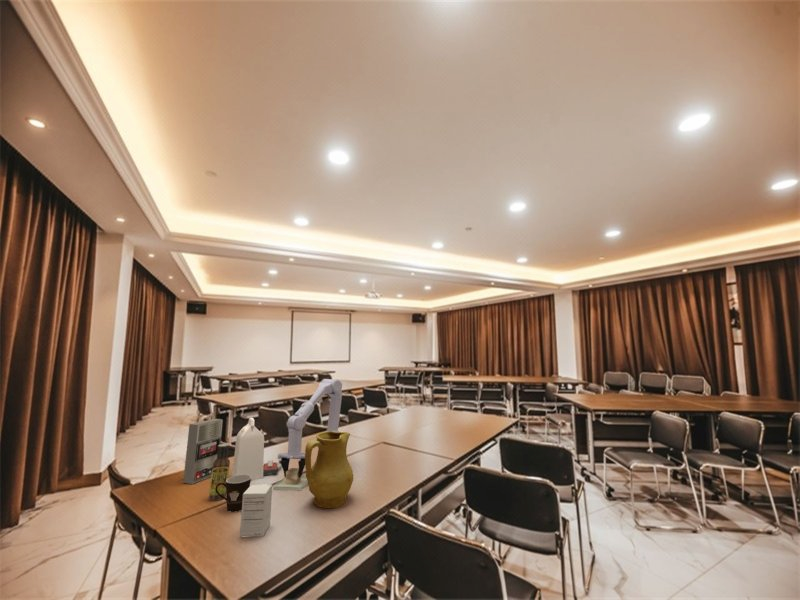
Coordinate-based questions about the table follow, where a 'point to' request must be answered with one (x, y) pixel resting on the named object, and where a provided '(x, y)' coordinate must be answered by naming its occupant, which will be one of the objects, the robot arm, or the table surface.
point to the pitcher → (329, 469)
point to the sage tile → (283, 486)
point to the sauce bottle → (219, 473)
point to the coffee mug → (235, 491)
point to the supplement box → (256, 510)
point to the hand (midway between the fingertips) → (293, 476)
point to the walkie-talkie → (271, 468)
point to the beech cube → (292, 476)
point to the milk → (249, 452)
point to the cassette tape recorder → (202, 449)
